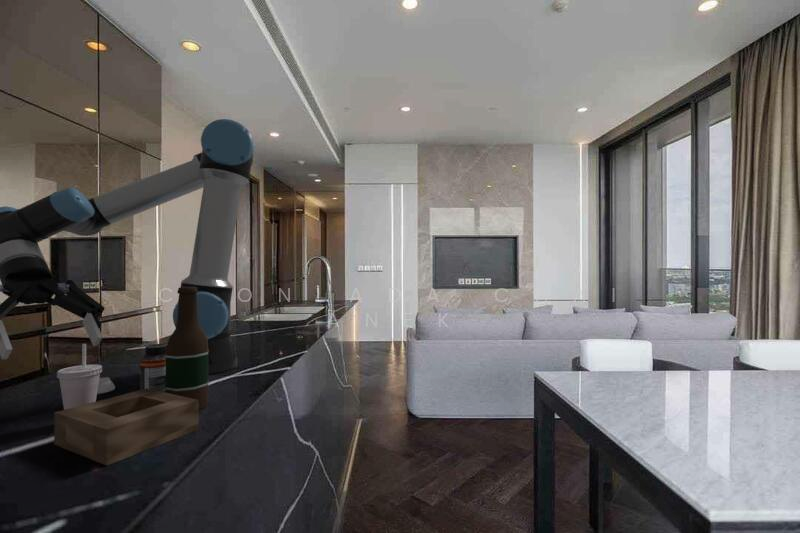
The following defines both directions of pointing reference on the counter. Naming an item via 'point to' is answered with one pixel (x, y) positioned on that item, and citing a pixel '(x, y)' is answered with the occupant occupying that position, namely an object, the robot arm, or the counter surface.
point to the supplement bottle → (153, 368)
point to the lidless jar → (105, 385)
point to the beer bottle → (188, 352)
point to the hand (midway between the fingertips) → (56, 347)
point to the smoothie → (79, 383)
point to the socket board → (125, 424)
